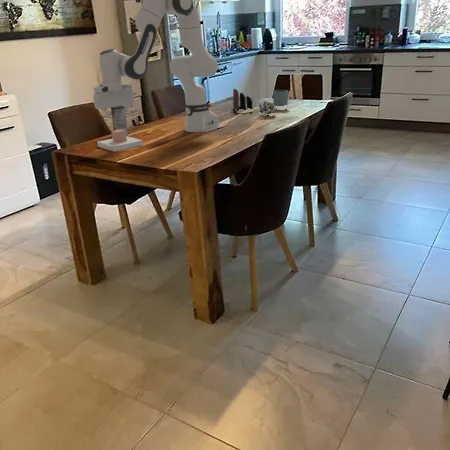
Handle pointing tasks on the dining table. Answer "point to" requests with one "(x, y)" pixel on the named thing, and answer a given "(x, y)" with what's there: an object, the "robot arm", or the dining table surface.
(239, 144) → the dining table surface
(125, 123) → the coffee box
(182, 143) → the dining table surface
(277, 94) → the grey tapered pot
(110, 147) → the base plate
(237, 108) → the letter holder
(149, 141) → the dining table surface
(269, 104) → the passion flower
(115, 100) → the robot arm
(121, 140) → the terracotta block
